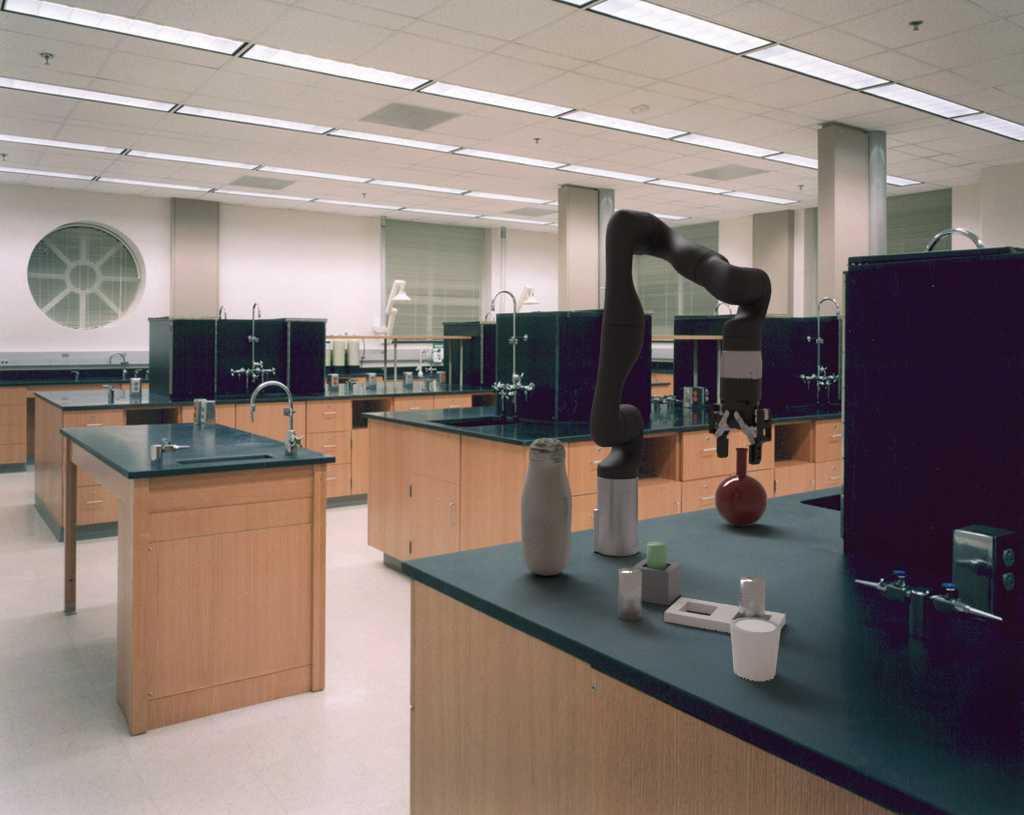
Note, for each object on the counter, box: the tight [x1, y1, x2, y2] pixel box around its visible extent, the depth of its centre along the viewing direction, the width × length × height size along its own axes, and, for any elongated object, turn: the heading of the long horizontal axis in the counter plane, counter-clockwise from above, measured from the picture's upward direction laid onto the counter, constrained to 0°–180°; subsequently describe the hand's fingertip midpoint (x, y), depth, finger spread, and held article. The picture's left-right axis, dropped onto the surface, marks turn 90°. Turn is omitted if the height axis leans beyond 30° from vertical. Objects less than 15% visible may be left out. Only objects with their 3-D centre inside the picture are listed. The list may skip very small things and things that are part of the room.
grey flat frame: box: [663, 596, 787, 634], centre depth 131 cm, size 18×9×2 cm, turn 60°
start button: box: [646, 541, 668, 570], centre depth 144 cm, size 4×4×6 cm
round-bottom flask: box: [714, 447, 769, 527], centre depth 200 cm, size 13×13×20 cm
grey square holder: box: [631, 557, 682, 606], centre depth 144 cm, size 7×7×6 cm
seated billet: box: [739, 575, 766, 619], centre depth 128 cm, size 4×4×8 cm
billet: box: [617, 567, 643, 621], centre depth 134 cm, size 4×4×8 cm
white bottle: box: [520, 437, 573, 577], centre depth 158 cm, size 10×10×28 cm
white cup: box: [730, 618, 782, 682], centre depth 111 cm, size 7×7×7 cm
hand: (738, 460), depth 147 cm, fingers open, 8 cm apart
